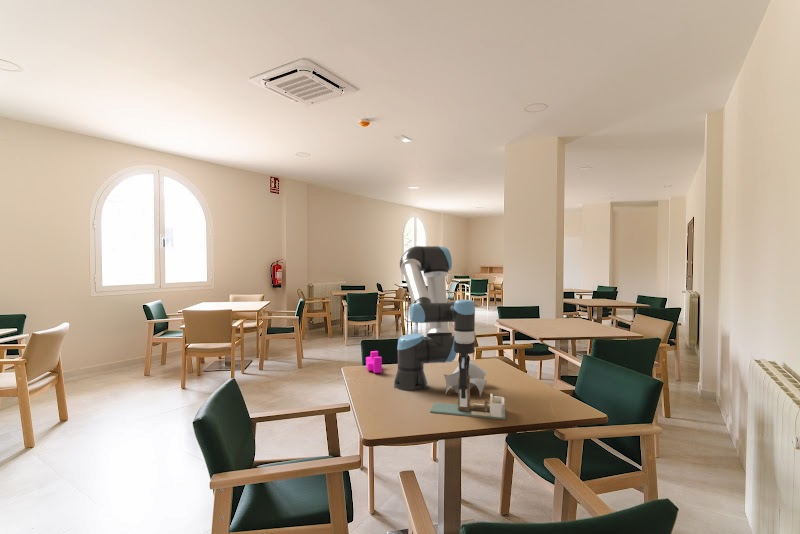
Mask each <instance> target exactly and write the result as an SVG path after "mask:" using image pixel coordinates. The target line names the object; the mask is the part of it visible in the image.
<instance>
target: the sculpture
mask: <svg viewBox="0 0 800 534" xmlns="http://www.w3.org/2000/svg"><path fill="white" fill-rule="evenodd" d="M459 375H460V370H459V365H457V367H456V368H455V370H454V371H453V373H451V374H445V373H443V377H444V380H445V384H446V385H445V386H446V388H445V394H444V395H445V396H446V394H447V392H449V390H450V389H451V388H453V390H454V393H456V394H458V377H459ZM486 375H487V370H484V369H482V368H481V367H479V366H478V365H477V364H476V363H474V362H473V361H471V360H470V361H469V376H470V389H472V388H473V387H474V386H476V388H477V389H478V391H479V392H478V393H479V397H482V394H483V393H482V392H483V391H484V388H485V386H486V384H487V381H488V380H487V379H484V378H486V377H485V376H486Z"/></svg>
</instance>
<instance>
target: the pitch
mask: <svg viewBox="0 0 800 534" xmlns="http://www.w3.org/2000/svg"><path fill="white" fill-rule="evenodd" d="M472 406H479V407H484V403H483V404H482V403H472ZM506 411H507V410H506V408H504V418H502V417H491V416H490V404H488V406H487V413H486V412H484V411H480V410H469V411H462V410H458V403H457V404H456V403H454V404H453V403H444V402H436V401H435V402H433V404H432V406H431V409H430V410H429V413H432V414H441V415H452V416H461V417H462V416H463V417H473V418H484V419H495V420H502V421H503V420H505V421H506V420H507V418H506V417H507V416H506V415H507V414H506V413H507V412H506Z"/></svg>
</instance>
